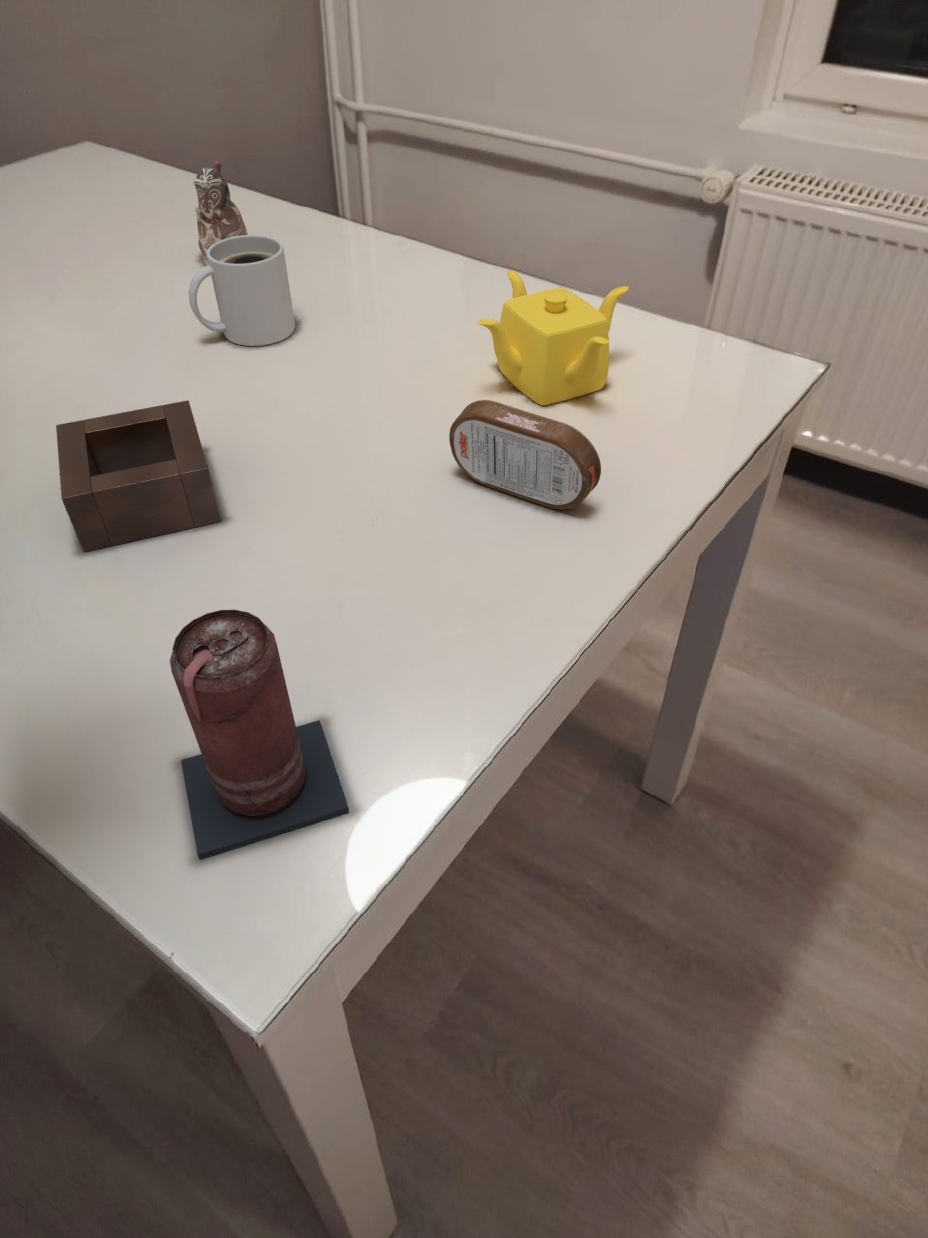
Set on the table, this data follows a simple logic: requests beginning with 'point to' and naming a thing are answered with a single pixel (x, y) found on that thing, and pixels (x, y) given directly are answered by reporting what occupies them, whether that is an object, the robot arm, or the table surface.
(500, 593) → the table surface
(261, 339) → the mug
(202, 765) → the mat
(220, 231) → the figurine
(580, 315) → the teapot
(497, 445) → the tin
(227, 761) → the can
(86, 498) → the holder
